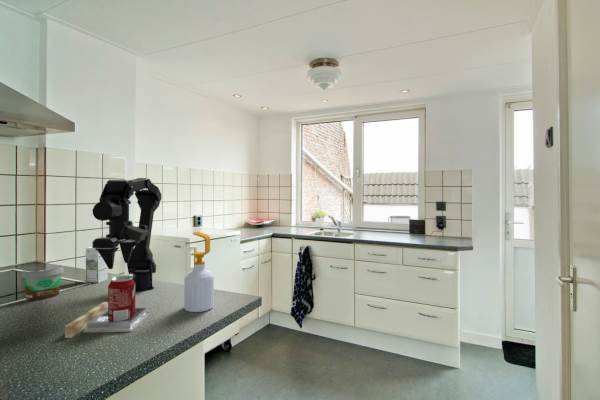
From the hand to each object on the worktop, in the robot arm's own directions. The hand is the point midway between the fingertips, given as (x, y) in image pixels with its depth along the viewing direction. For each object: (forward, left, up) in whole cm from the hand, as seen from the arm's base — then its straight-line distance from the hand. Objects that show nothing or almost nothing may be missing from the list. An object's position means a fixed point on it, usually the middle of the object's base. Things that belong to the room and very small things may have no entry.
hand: (119, 265), depth 106 cm
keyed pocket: (+4, +16, -13) cm, 21 cm away
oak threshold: (+11, +11, -13) cm, 20 cm away
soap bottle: (-18, +20, -13) cm, 30 cm away
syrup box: (-2, -38, -13) cm, 40 cm away
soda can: (+4, +16, -12) cm, 21 cm away
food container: (+16, -26, -13) cm, 33 cm away
